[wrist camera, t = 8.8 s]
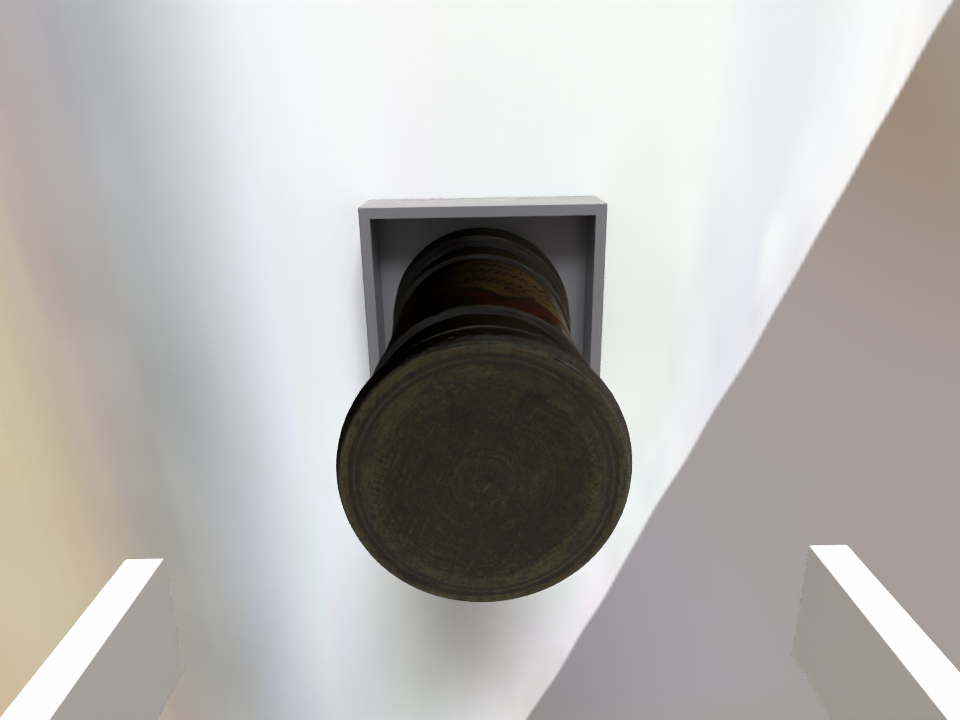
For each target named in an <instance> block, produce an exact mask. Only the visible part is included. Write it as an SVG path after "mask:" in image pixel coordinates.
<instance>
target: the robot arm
mask: <svg viewBox="0 0 960 720" xmlns="http://www.w3.org/2000/svg"><path fill="white" fill-rule="evenodd" d="M792 656H793V658H794V659H795V661H796V663H797V664H798V666H799V668H800V670H801V671H802V673H803V675H804V676H805V678H806V680H807V681H808V683H809V685H810V686H811V688H812V690H813V691H814V693H815V695H816V696H817V698H818V700H819V701H820V703H821V705H822V706H823V708H824V710H825V711H826V713H827V715H828V716H829V718H830V720H960V672H959V671H958V670H957V669H956V668H955V667H954V666H953V664H952V663H951V662H950V661H949V660H948V659H947V658H946V656H944V654H943V653H942V652H941V651H940V650H939V649H938V648H937V646H936V645H935V644H934V643H933V642H932V641H931V640H930V638H929V637H928V636H927V635H926V634H925V633H924V632H923V631H922V629H921V628H920V627H919V626H918V625H917V624H916V623H915V621H914V620H913V619H912V618H911V617H910V616H909V615H908V614H907V612H906V611H905V610H904V609H903V608H902V607H901V606H900V605H899V603H897V601H896V600H895V599H894V598H893V597H892V595H891V594H890V593H889V592H888V591H887V590H886V589H885V588H884V586H883V585H882V584H881V583H880V582H879V581H878V580H877V579H876V578H875V576H874V575H873V574H872V573H871V572H870V571H869V569H868V568H867V567H866V566H865V565H864V564H863V563H862V562H861V561H860V559H859V558H858V557H857V556H856V555H855V554H854V553H853V551H852V550H851V549H850V548H849V547H848V546H847V545H824V546H823V545H821V546H820V545H818V546H809V550H808V557H807V563H806V569H805V575H804V581H803V587H802V594H801V599H800V606H799V612H798V618H797V624H796V630H795V636H794V643H793V649H792ZM184 668H185V664H184V659H183V654H182V649H181V644H180V639H179V634H178V629H177V624H176V618H175V613H174V608H173V603H172V598H171V593H170V588H169V583H168V578H167V573H166V567H165V562H164V559H126V560H125V561H124V563H123V564H122V565H121V566H120V568H119V569H118V570H117V571H116V573H115V574H114V575H113V576H112V578H111V579H110V580H109V581H108V583H107V584H106V585H105V587H104V588H103V589H102V590H101V592H100V593H99V594H98V595H97V597H96V598H95V599H94V600H93V602H92V603H91V604H90V605H89V607H88V608H87V609H86V610H85V612H84V613H83V614H82V615H81V617H80V618H79V619H78V621H77V622H76V623H75V624H74V626H73V627H72V628H71V629H70V631H69V632H68V633H67V634H66V636H65V637H64V638H63V639H62V641H61V642H60V643H59V644H58V646H57V647H56V648H55V650H54V651H53V652H52V653H51V655H50V656H49V657H48V658H47V660H46V661H45V662H44V663H43V665H42V666H41V667H40V668H39V670H38V671H37V672H36V673H35V675H34V676H33V677H32V678H31V680H30V681H29V682H28V684H27V685H26V686H25V687H24V689H23V690H22V691H21V692H20V694H19V695H18V696H17V697H16V699H15V700H14V701H13V702H12V704H11V705H10V706H9V707H8V709H7V710H6V711H5V713H4V714H3V715H2V716H1V718H0V720H157V719H158V718H159V716H160V714H161V712H162V710H163V708H164V706H165V704H166V702H167V701H168V699H169V697H170V695H171V693H172V691H173V689H174V687H175V685H176V684H177V682H178V680H179V678H180V676H181V674H182V672H183V670H184Z"/></svg>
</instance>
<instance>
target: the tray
mask: <svg viewBox="0 0 960 720" xmlns="http://www.w3.org/2000/svg"><path fill="white" fill-rule="evenodd" d="M358 213H359V227H360V241H361V254H362V268H363V281H364V295H365V309H366V322H367V336H368V349H369V363H370V377H372V375H373V373H374V370H375V368H376V366H377V364H378V362H379V360H380V359H381V357H382V356H383V354H384V353H385V351H386V349H387V347H388V344H389V342H390V340H391V337H392V328H393V311H394V304H395V299H396V294H397V290H398V286H399V283H400V281H401V278H402V276H403V274H404V272H405V270H406V269H407V267H408V266H409V264H410V263H411V262H412V260H413V259H414V258H415V257H416V256H417V255H418V253H419V252H420V251H422V250H423V249H424V248H425V247H426V246H427V245H429V244H430V243H432V242H433V241H435V240H437V239H438V238H440V237H442V236H444V235H447V234H449V233H452V232H455V231H458V230H463V229H469V228H492V229H498V230H502V231H506V232H509V233H512V234H515V235H517V236H519V237H521V238H523V239H525V240H527V241H528V242H530V243H531V244H533V245H534V246H535V247H536V248H538V249H539V250H540V251H541V252H542V253H543V254H544V255H545V256H546V257H547V258H548V259H549V261H550V262H551V263H552V264H553V266H554V267H555V269H556V270H557V272H558V274H559V276H560V278H561V280H562V282H563V285H564V288H565V291H566V294H567V298H568V303H569V311H570V320H571V335H572V338H573V340H574V342H575V344H576V347H577V349H578V351H579V352H580V353H581V355H582V356H583V358H584V359H585V361H586V363H587V364H588V366H589V367H590V368H591V369H592V370H593V371H594V372H595V373H596V374H597V375H598V376H599V377H600V361H601V338H602V315H603V291H604V268H605V245H606V222H607V203H605V202H604V201H602V200H600V199H599V198H597V197H596V196H572V197H515V198H458V199H401V200H369V201H367V202H366V203H365V204H363V205H362V206H360V207H359V208H358Z"/></svg>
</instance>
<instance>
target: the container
mask: <svg viewBox="0 0 960 720" xmlns="http://www.w3.org/2000/svg"><path fill="white" fill-rule="evenodd" d="M336 472H337V484H338V490H339V494H340V498H341V502H342V505H343V508H344V511H345V514H346V516H347V519H348V521H349V523H350V525H351V527H352V529H353V530H354V532H355V534H356V535H357V537H358V538H359V540H360V542H361V543H362V544H363V546H364V547H365V548H366V549H367V551H368V552H369V553H370V554H371V555H372V556H373V557H374V559H375V560H376V561H377V562H378V563H380V564H381V565H382V566H383V567H384V568H385V569H387V570H388V571H389V572H390V573H392V574H393V575H394V576H396V577H397V578H399V579H401V580H402V581H404V582H406V583H407V584H409V585H411V586H413V587H415V588H417V589H419V590H422V591H424V592H427V593H430V594H433V595H436V596H440V597H444V598H448V599H454V600H461V601H470V602H493V601H503V600H509V599H514V598H519V597H523V596H527V595H530V594H533V593H536V592H539V591H542V590H544V589H546V588H549V587H551V586H553V585H555V584H557V583H559V582H561V581H563V580H564V579H566V578H567V577H569V576H570V575H572V574H573V573H575V572H576V571H577V570H579V569H580V568H581V567H583V566H584V565H585V564H586V563H587V562H588V561H589V560H590V559H591V558H592V557H594V556H595V555H596V553H597V552H598V551H599V550H600V549H601V548H602V546H603V545H604V544H605V543H606V541H607V540H608V538H609V537H610V535H611V534H612V532H613V530H614V529H615V527H616V525H617V523H618V521H619V519H620V517H621V515H622V513H623V510H624V507H625V504H626V501H627V497H628V493H629V488H630V483H631V475H632V450H631V442H630V437H629V432H628V428H627V425H626V422H625V419H624V417H623V414H622V412H621V410H620V408H619V405H618V403H617V402H616V400H615V398H614V396H613V394H612V393H611V391H610V390H609V389H608V387H607V386H606V385H605V383H604V382H603V381H602V380H601V378H600V377H599V376H598V375H597V374H596V373H595V372H594V371H593V370H592V369H591V368H590V367H589V366H588V364H587V363H586V361H585V359H584V358H583V356H582V355H581V353H580V352H579V351H578V349H577V347H576V344H575V342H574V340H573V338H572V335H571V320H570V311H569V303H568V298H567V294H566V291H565V288H564V285H563V282H562V280H561V278H560V276H559V274H558V272H557V270H556V269H555V267H554V266H553V264H552V263H551V262H550V261H549V259H548V258H547V257H546V256H545V255H544V254H543V253H542V252H541V251H540V250H539V249H538V248H536V247H535V246H534V245H533V244H531V243H530V242H528V241H527V240H525V239H523V238H521V237H519V236H517V235H515V234H512V233H509V232H506V231H502V230H498V229H492V228H469V229H463V230H458V231H455V232H452V233H449V234H447V235H444V236H442V237H440V238H438V239H437V240H435V241H433V242H432V243H430V244H429V245H427V246H426V247H425V248H424V249H423V250H422V251H420V252H419V253H418V255H417V256H416V257H415V258H414V259H413V260H412V262H411V263H410V264H409V266H408V267H407V269H406V270H405V272H404V274H403V276H402V278H401V281H400V283H399V286H398V290H397V294H396V299H395V304H394V311H393V328H392V337H391V340H390V342H389V344H388V347H387V349H386V351H385V353H384V354H383V356H382V357H381V359H380V360H379V362H378V364H377V366H376V368H375V370H374V373H373V375H372V377H371V378H370V379H369V380H368V382H367V383H366V384H365V385H364V387H363V388H362V389H361V391H360V392H359V394H358V395H357V397H356V398H355V400H354V402H353V404H352V406H351V408H350V409H349V412H348V414H347V416H346V418H345V421H344V424H343V427H342V430H341V434H340V438H339V443H338V450H337V459H336Z"/></svg>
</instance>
